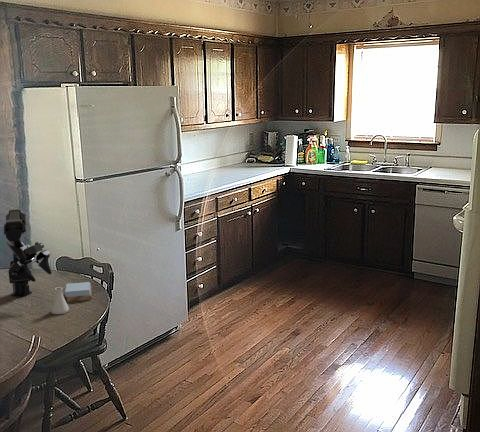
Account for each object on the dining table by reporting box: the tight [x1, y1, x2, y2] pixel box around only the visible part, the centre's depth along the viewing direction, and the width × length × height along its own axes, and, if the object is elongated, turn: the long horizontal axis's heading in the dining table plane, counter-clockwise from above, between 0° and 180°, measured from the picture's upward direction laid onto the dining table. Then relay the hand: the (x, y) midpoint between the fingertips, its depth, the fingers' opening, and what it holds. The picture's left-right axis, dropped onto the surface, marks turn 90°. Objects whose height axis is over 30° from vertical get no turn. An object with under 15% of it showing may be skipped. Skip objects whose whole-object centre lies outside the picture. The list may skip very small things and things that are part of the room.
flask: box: [51, 286, 70, 315], centre depth 218 cm, size 7×7×10 cm
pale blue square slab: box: [64, 281, 91, 298], centre depth 235 cm, size 10×10×2 cm
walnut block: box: [66, 286, 92, 303], centre depth 235 cm, size 10×10×2 cm
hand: (43, 277), depth 219 cm, fingers open, 9 cm apart
